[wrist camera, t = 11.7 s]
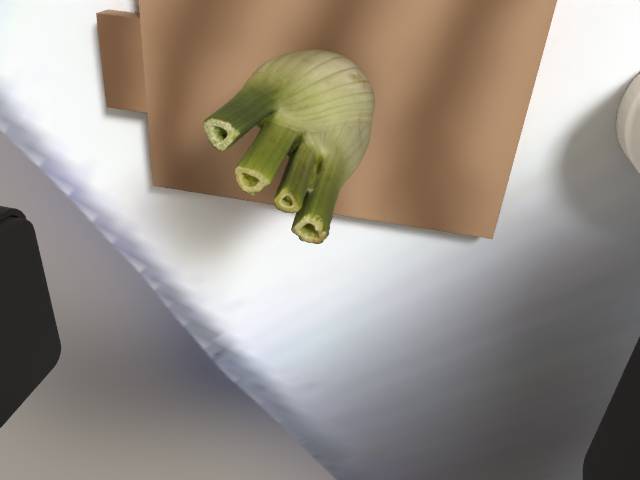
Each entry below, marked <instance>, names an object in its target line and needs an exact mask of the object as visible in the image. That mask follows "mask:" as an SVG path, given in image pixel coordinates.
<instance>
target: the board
mask: <svg viewBox="0 0 640 480" xmlns="http://www.w3.org/2000/svg"><path fill="white" fill-rule="evenodd" d="M556 3H557V0H139V12H140V14H138V13H130V12H122V11H114V10H106V11H102V12H99V13H96V15H97V24H98V32H99V41H100V50H101V59H102V68H103V76H104V85H105V94H106V103H107V107H109V108H116V109H123V110H130V111H137V112H144V113H147V115H148V128H149V140H150V153H151V166H152V179H153V186H158V187H165V188H171V189H177V190H184V191H190V192H197V193H203V194H209V195H216V196H222V197H228V198H235V199H241V200H247V201H254V202H260V203H266V204H273V205H274V198H275V195H276V192H277V188H278V186H279V185H280V182H281V179H282V176H283V173H284V170H285V167H286V166H287V163H288V159H289V158H288V157H285V158H284V162H283V163H282V164H281V166H280V168H279V170H278V172H277V173H276V175H275V177H274V179H273V181H272V182H271V184H269V185H268V186H265V187H264V188H263V189H262V190H261V191H259V192H257V193H256V194H255V196H250V195H248V194H247V193H245V192H244V191H242V190H241V189H240V187H239V186H238V184H237V181H236V177H235V172H234V171H235V168H236V166H237V165H238V163H239V161H240V160H241V158H242V157H243V156H244V154H245V153H246V151H247V150H248V148H249V147H250V146H251V144H252V143H253V141H254V140H255V138H256V136H257V135H258V132H259V129H258V127H257V126H254V127H253V128H252V129H251V130H250V131H248V132H247V133H246V134H245V135H244V136H243V137H242V138H240V139H239V140H238V141H237V142H236V143H235V144H233V145H232V146H231V147H229V148H228V149H226V150H225V151H223V152H221V151H217V150H216V149H215V148H214V147H213V146H212V145H211V144H210V143H209V142H208V137H207V134H206V132H205V131H204V120H205V119H207V118H208V117H209V116H210V115H212V114H213V113H215V112H216V111H217V110H219V109H220V108H222V107H223V106H224V105H225V104H226V103H228V102H229V101H230V100H231V99H232V98H234V96H235V95H236V94H237V93H238V92H239V91H240V90H241V89H242V88H243V86H244V85H245V84H246V82H247V80H248V79H249V78H250V77H251V76H252V75H253V73H254V72H255V71H256V70H257V69H258V68H259V67H260V66H261V65H262V64H264V63H266V62H267V61H269V60H271V59H273V58H275V57H277V56H279V55H282V54H285V53H291V52H296V51H304V50H326V51H332V52H336V53H339V54H341V55H344V56H346V57H347V58H349V59H350V60H352V61H353V62H354V63H356V64H357V65H358V66H359V67H360V69H361V70H362V71H363V72H364V73H365V75H366V76H367V77H368V79H369V82H370V84H371V86H372V88H373V92H374V98H375V108H374V113H373V118H372V125H371V135H370V142H369V145H368V148H367V150H366V153H365V155H364V157H363V159H362V160H361V162H360V164H359V167H358V168H357V169H356V170H355V172H354V173H353V174H352V175H351V176H350V177H349V179H348V180H347V181H346V182H345V183H344V184H343V186H342V188H341V189H340V192H339V194H338V199H337V201H336V204H335V206H334V210H333V214H336V215H343V216H349V217H355V218H362V219H368V220H375V221H381V222H387V223H394V224H400V225H406V226H413V227H419V228H425V229H432V230H438V231H444V232H451V233H457V234H463V235H470V236H476V237H483V238H489V239H493V235H494V231H495V228H496V224H497V220H498V217H499V213H500V209H501V206H502V202H503V198H504V194H505V191H506V187H507V183H508V180H509V176H510V172H511V169H512V165H513V161H514V158H515V154H516V150H517V146H518V143H519V139H520V135H521V132H522V128H523V124H524V121H525V117H526V113H527V110H528V106H529V102H530V99H531V95H532V91H533V87H534V84H535V80H536V76H537V73H538V69H539V65H540V62H541V58H542V54H543V51H544V47H545V43H546V39H547V36H548V32H549V28H550V25H551V21H552V17H553V14H554V10H555V6H556Z"/></svg>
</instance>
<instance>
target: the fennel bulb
mask: <svg viewBox="0 0 640 480" xmlns="http://www.w3.org/2000/svg"><path fill="white" fill-rule="evenodd" d="M374 108H375V98H374V92H373V88H372V86H371V84H370V82H369V79H368V77H367V76H366V75H365V73H364V72H363V71H362V70H361V69H360V67H359V66H358V65H357V64H356V63H354V62H353V61H352V60H350V59H349V58H347V57H346V56H344V55H341V54H339V53H336V52H332V51H326V50H304V51H296V52H291V53H285V54H282V55H279V56H277V57H275V58H273V59H271V60H269V61H267V62H266V63H264V64H262V65H261V66H260V67H259V68H258V69H257V70H256V71H255V72H254V73H253V75H252V76H251V77H250V78H249V79H248V80H247V82H246V84H245V85H244V86H243V88H242V89H241V90H240V91H239V92H238V93H237V94H236V95H235V96H234V98H232V99H231V100H230V101H229V102H228V103H226V104H225V105H224V106H223V107H222V108H220V109H219V110H217V111H216V112H215V113H213V114H212V115H210V116H209V117H208V118H207V119H205V120H204V131H205V132H206V134H207V137H208V142H209V143H210V144H211V145H212V146H213V147H214V148H215V149H216V150H217V151H221V152H223V151H225V150H226V149H228V148H229V147H231V146H232V145H233V144H235V143H236V142H237V141H238V140H239V139H240V138H242V137H243V136H244V135H245V134H246V133H247V132H248V131H250V130H251V129H252V128H253V127H254V126H257V127H258V129H259V132H258V135H257V136H256V138H255V140H254V141H253V143H252V144H251V146H250V147H249V148H248V150H247V151H246V153H245V154H244V156H243V157H242V158H241V160H240V161H239V163H238V165H237V166H236V168H235V171H234V172H235V177H236V181H237V184H238V186H239V187H240V189H241V190H242V191H244V192H245V193H247V194H248V195H250V196H255V194H256V193H257V192H259V191H261V190H262V189H263V188H264V187H265V186H268V185H269V184H271V182H272V181H273V179H274V177H275V175H276V173H277V172H278V170H279V168H280V166H281V164H282V163H283V162H284V158H285V157H288V158H289V159H288V163H287V166H286V167H285V170H284V173H283V176H282V179H281V182H280V185H279V186H278V188H277V192H276V195H275V198H274V205H275V206H276V208H277V209H279V210H282V211H283V212H286V213H294V212H297V213H296V216H295V218H294V222H293V225H292V228H291V230H292V232H293V233H294V234H296V235H297V236H299V239H300V240H301V241H305V242H308V243H315V244H320V243H322V242H323V241H324V239H326V238H327V236H328V235H329V229H330V223H331V220H332V215H333V210H334V206H335V204H336V201H337V199H338V194H339V192H340V189H341V188H342V186H343V184H344V183H345V182H346V181H347V180H348V179H349V177H350V176H351V175H352V174H353V173H354V172H355V170H356V169H357V168H358V167H359V164H360V162H361V160H362V159H363V157H364V155H365V153H366V150H367V148H368V145H369V142H370V135H371V125H372V118H373V113H374Z"/></svg>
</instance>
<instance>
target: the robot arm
mask: <svg viewBox="0 0 640 480" xmlns="http://www.w3.org/2000/svg"><path fill="white" fill-rule="evenodd" d="M60 352H61V344H60V339H59V335H58V330H57V326H56V322H55V318H54V313H53V308H52V304H51V300H50V295H49V291H48V287H47V282H46V278H45V274H44V269H43V265H42V261H41V256H40V252H39V247H38V244H37V239H36V234H35V230H34V227H33V225H32V223H31V222H30V221H28V220H26V217H25V215H24V214H23V213H22V212H21V211H20V210H18V209H14V208H8V207H2V206H0V428H1V427H2V426H3V424H4V423H5V422H6V421H7V420H8V419H9V418H10V417H11V415H12V414H13V413H14V412H15V411H16V410H17V408H18V407H19V406H20V405H21V404H22V403H23V402H24V400H26V398H27V397H28V396H29V395H30V394H31V393H32V392H33V390H34V389H35V388H36V387H37V386H38V385H39V384H40V383H41V381H42V380H43V379H44V378H45V377H46V376H47V375H48V373H49V372H50V371H51V370H52V369H53V368H54V366H55V365H56V363H57V361H58V359H59V356H60ZM583 480H640V337H639V339H638V342H637V344H636V346H635V348H634V350H633V353H632V355H631V357H630V359H629V361H628V364H627V366H626V368H625V370H624V372H623V375H622V377H621V379H620V381H619V383H618V386H617V388H616V390H615V392H614V394H613V397H612V399H611V401H610V403H609V405H608V408H607V410H606V412H605V414H604V416H603V419H602V421H601V423H600V425H599V427H598V430H597V432H596V434H595V436H594V438H593V441H592V443H591V445H590V447H589V449H588V452H587V454H586V456H585V459H584V464H583Z"/></svg>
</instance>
